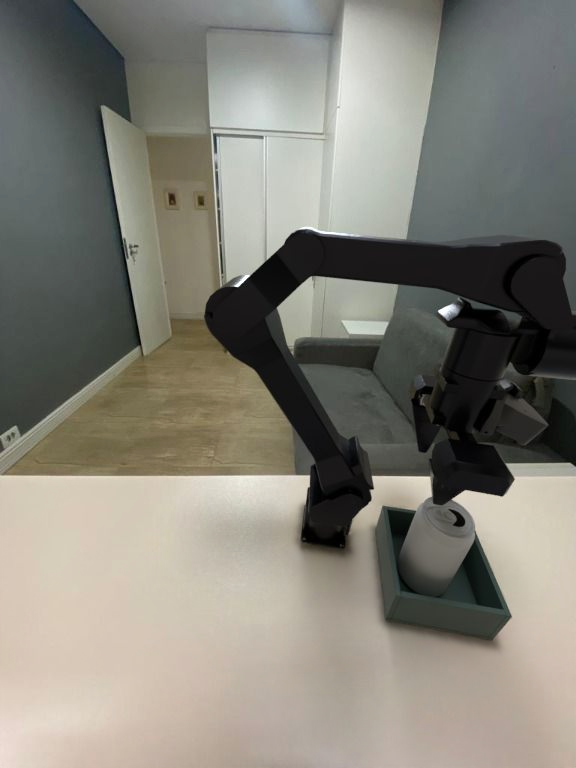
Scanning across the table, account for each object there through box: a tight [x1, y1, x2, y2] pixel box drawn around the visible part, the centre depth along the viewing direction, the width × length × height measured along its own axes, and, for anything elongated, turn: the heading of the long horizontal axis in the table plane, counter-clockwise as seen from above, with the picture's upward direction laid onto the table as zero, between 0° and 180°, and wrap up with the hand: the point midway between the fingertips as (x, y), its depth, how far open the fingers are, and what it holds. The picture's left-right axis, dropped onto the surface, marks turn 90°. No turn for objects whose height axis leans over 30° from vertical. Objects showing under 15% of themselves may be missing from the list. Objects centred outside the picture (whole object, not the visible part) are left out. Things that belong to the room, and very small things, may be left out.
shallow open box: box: [374, 505, 513, 641], centre depth 40 cm, size 12×12×6 cm
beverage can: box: [397, 496, 476, 597], centre depth 38 cm, size 6×6×12 cm
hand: (429, 475), depth 40 cm, fingers open, 9 cm apart
